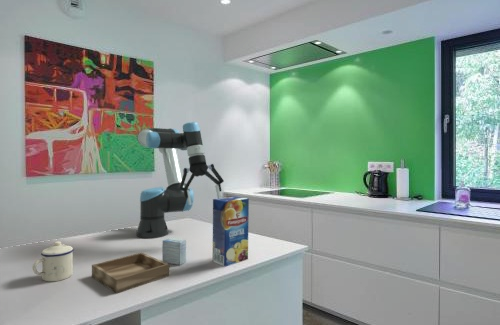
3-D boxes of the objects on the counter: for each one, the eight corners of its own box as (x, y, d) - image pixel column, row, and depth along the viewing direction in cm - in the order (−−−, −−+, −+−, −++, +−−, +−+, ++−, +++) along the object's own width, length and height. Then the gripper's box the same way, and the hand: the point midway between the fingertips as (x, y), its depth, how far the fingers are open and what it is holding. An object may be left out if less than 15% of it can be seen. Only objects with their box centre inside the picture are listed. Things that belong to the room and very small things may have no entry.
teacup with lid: (63, 269, 111) (63, 236, 111) (79, 275, 107) (79, 240, 106) (25, 281, 101) (25, 245, 100) (41, 288, 96) (40, 250, 96)
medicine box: (186, 261, 121) (186, 239, 120) (180, 265, 116) (180, 242, 116) (168, 259, 123) (168, 237, 123) (162, 262, 119) (162, 240, 119)
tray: (91, 276, 105) (91, 264, 105) (141, 263, 118) (141, 252, 118) (116, 293, 93) (116, 279, 93) (169, 276, 106) (169, 264, 106)
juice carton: (224, 266, 116) (225, 201, 115) (212, 261, 121) (212, 199, 120) (248, 259, 124) (248, 198, 123) (235, 254, 130) (236, 196, 129)
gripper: (169, 158, 135) (178, 207, 133) (224, 150, 145) (233, 196, 143) (167, 161, 142) (176, 207, 140) (220, 153, 152) (228, 197, 149)
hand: (205, 202), depth 141 cm, fingers open, 13 cm apart
